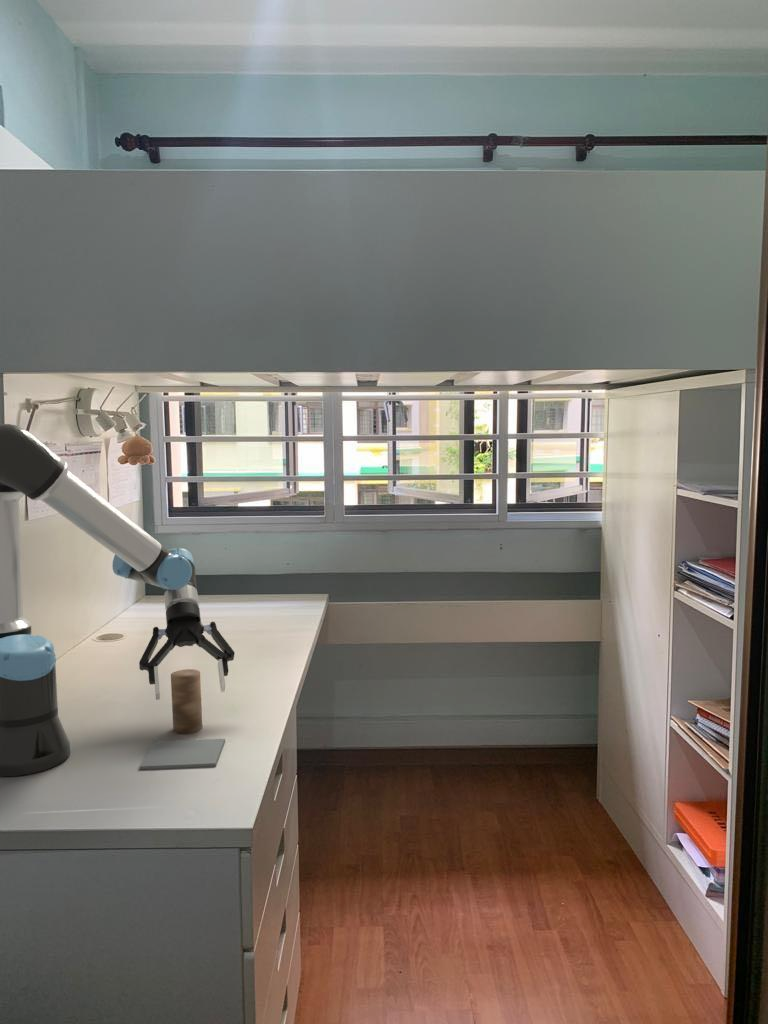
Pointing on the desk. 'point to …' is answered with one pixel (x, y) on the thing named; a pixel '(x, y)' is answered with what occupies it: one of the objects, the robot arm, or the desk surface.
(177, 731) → the walnut canister
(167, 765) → the slate mat
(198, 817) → the desk surface
